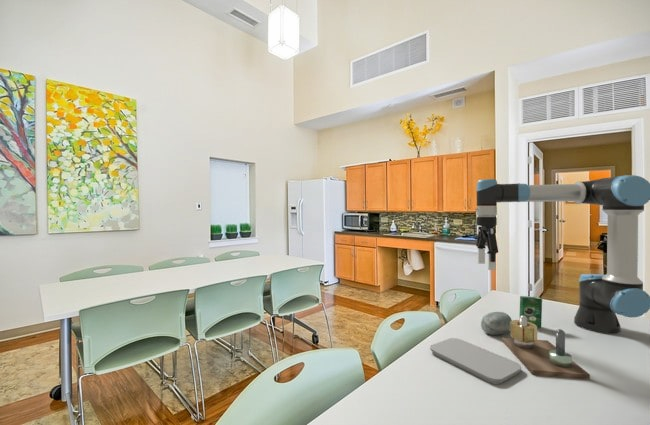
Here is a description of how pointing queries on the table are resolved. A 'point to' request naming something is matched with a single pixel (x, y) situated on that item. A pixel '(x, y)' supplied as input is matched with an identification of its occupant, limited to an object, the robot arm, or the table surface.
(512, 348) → the walnut plate
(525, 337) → the tan boxy piece
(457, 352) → the tablet
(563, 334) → the metal peg stand
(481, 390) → the table surface
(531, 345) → the stand rod
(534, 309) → the coffee box
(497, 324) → the grey marbled egg
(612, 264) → the robot arm
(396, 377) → the table surface
